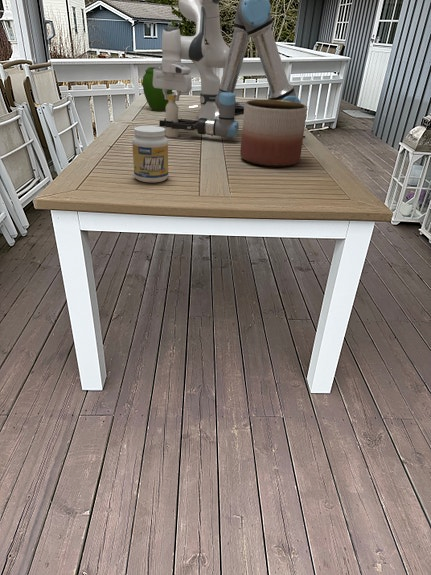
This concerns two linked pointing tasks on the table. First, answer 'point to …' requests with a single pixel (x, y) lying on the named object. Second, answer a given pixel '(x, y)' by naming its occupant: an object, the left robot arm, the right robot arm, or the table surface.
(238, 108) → the sign
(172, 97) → the cap
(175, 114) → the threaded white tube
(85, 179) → the table surface
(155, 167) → the supplement tub
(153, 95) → the vase
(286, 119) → the planter
